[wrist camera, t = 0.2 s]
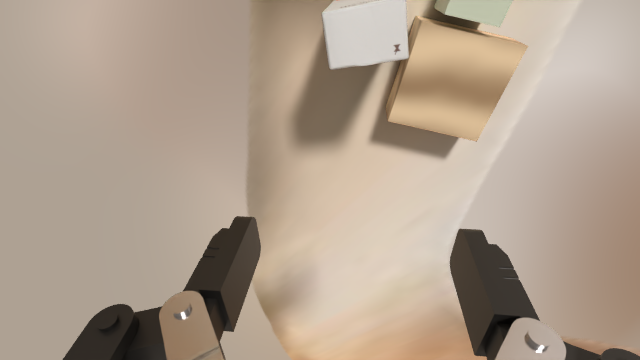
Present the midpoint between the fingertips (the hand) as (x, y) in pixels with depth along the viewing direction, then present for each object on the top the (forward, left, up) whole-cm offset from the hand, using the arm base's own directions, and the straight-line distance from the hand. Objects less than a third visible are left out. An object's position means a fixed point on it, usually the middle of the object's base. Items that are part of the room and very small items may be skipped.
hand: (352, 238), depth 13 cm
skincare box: (-5, -1, -28) cm, 28 cm away
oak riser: (-1, +9, -27) cm, 29 cm away
